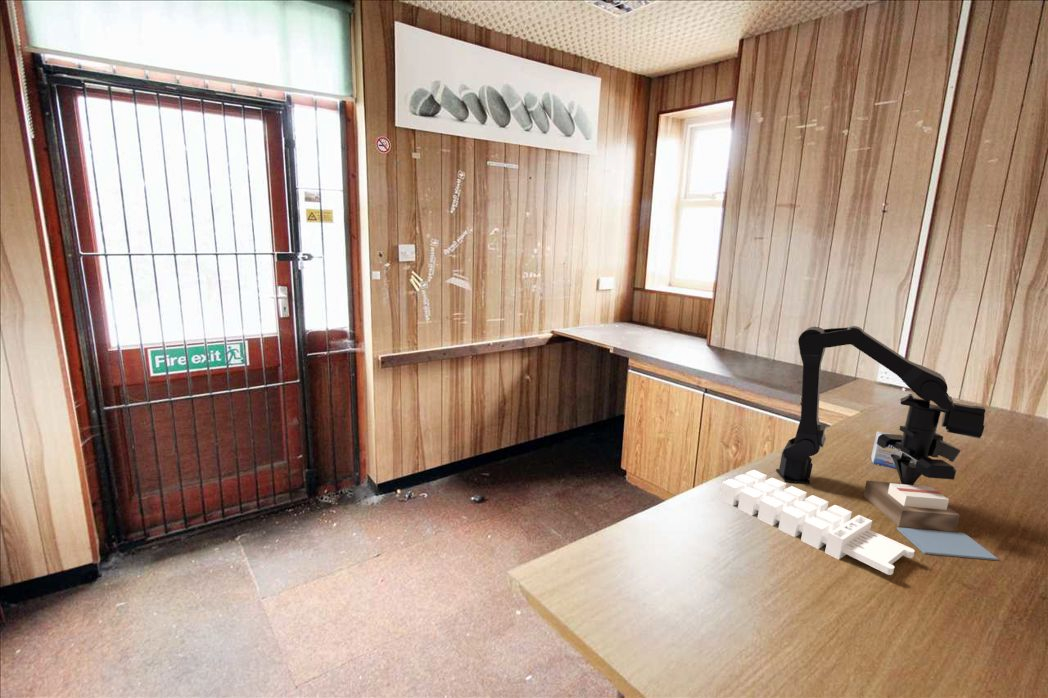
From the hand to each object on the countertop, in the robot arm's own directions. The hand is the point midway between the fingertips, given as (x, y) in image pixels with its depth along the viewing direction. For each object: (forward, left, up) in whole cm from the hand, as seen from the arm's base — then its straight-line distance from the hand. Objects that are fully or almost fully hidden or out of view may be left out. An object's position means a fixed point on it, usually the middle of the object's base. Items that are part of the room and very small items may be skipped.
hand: (906, 488), depth 122 cm
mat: (0, -15, -5) cm, 15 cm away
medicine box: (+12, +26, -5) cm, 29 cm away
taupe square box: (0, -2, -5) cm, 5 cm away
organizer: (-27, -13, -6) cm, 30 cm away
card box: (0, -4, -1) cm, 4 cm away
